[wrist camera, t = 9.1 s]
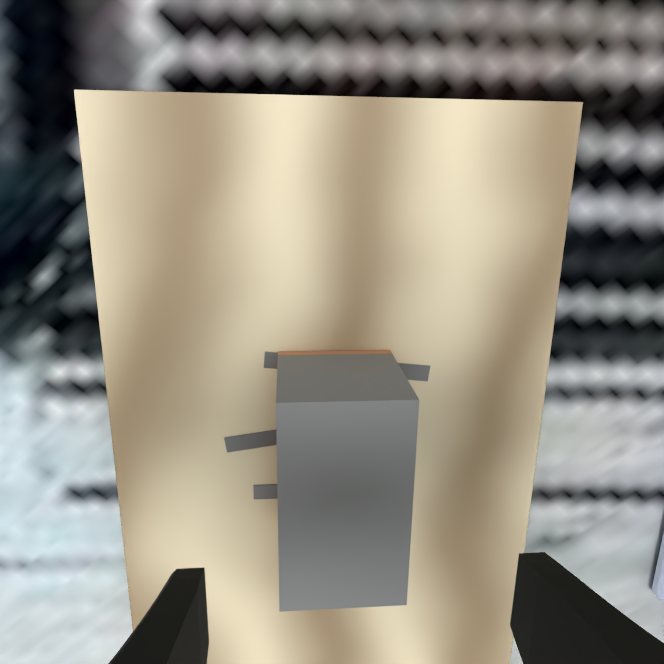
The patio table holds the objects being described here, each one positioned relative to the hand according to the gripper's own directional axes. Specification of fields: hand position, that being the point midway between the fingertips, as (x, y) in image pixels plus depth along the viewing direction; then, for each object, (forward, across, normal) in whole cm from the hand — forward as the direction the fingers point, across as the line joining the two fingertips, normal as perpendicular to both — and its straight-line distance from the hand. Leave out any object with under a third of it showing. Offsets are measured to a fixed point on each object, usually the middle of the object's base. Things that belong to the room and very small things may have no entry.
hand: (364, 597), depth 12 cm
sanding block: (+8, 0, 0) cm, 8 cm away
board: (+10, 0, +2) cm, 10 cm away
